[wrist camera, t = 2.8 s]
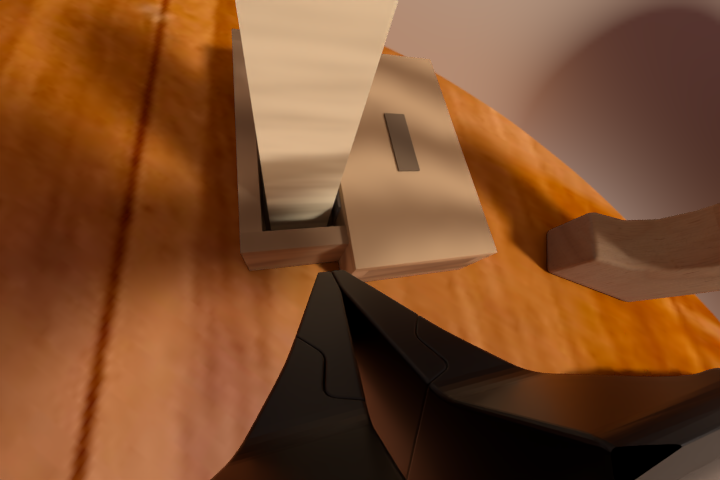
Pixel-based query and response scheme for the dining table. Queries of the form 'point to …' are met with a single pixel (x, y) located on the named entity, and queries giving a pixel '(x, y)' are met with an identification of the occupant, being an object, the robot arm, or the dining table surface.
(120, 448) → the dining table surface
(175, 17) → the dining table surface
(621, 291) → the wooden block
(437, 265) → the box with sliding lid
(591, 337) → the dining table surface
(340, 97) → the tall beige rectangular block
